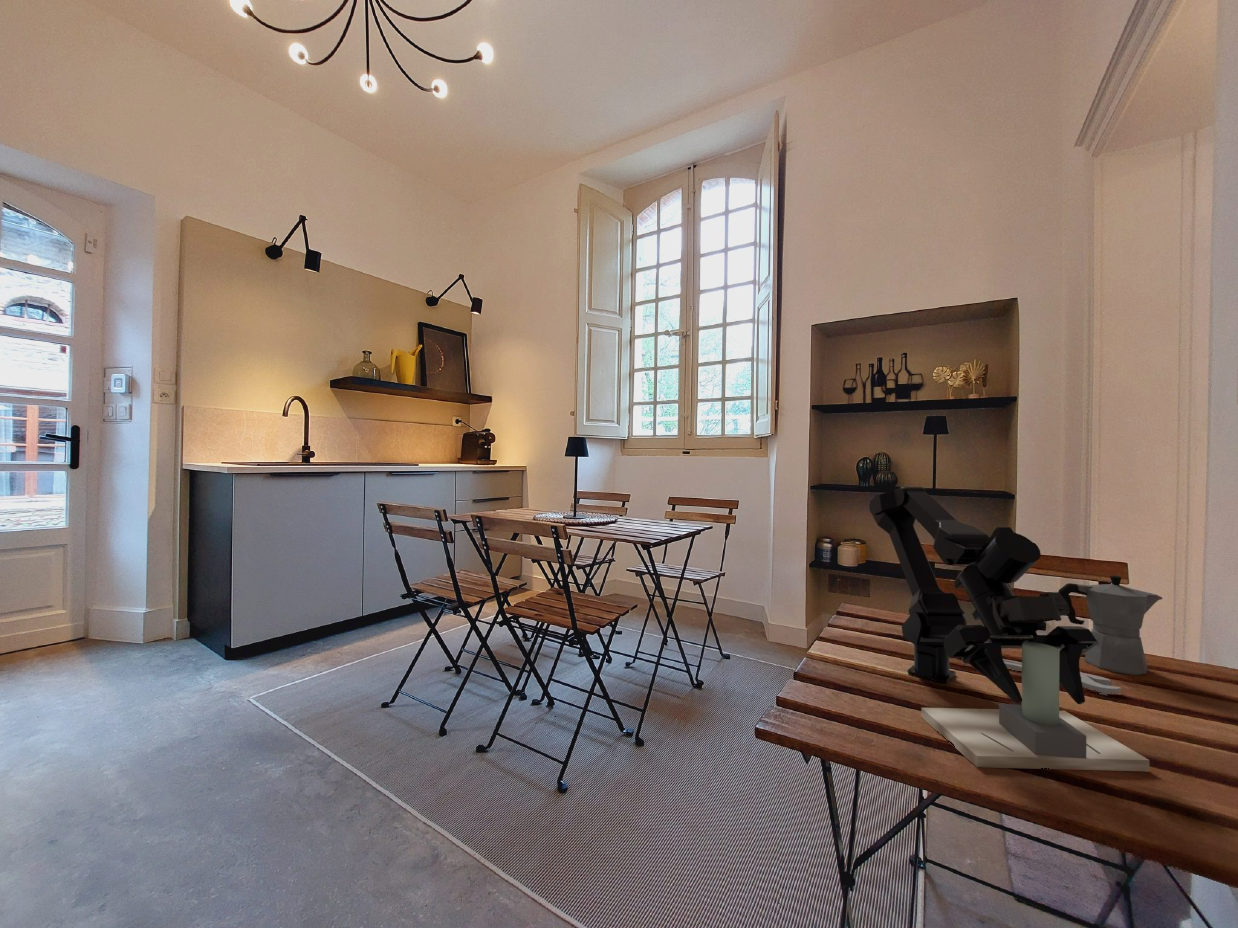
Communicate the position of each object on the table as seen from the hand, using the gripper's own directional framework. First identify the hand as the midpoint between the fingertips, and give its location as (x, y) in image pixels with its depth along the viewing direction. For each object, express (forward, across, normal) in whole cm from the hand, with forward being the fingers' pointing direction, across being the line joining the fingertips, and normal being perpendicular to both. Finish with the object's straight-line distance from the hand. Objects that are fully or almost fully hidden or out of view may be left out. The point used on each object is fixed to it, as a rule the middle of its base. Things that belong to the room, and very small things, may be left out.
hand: (1050, 702), depth 68 cm
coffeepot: (-18, +38, +30) cm, 52 cm away
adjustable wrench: (-15, +20, +27) cm, 37 cm away
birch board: (+2, 0, +9) cm, 9 cm away
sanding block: (+3, 0, +6) cm, 7 cm away
